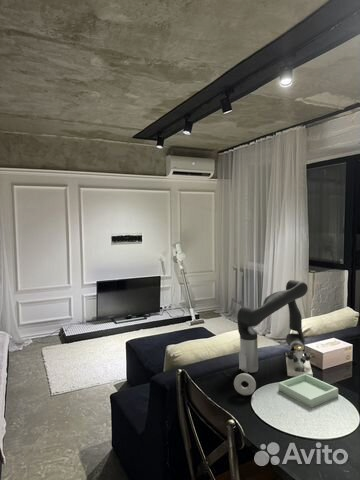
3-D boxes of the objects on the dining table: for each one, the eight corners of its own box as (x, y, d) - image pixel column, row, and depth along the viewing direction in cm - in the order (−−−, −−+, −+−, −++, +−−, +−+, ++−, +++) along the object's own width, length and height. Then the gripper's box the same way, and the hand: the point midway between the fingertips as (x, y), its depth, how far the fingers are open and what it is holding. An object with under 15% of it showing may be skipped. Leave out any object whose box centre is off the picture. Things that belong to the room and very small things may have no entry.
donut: (233, 395, 149) (233, 374, 148) (234, 392, 152) (233, 371, 152) (256, 397, 146) (255, 375, 146) (256, 394, 150) (255, 372, 150)
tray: (310, 407, 137) (310, 399, 137) (278, 390, 153) (278, 382, 153) (338, 396, 146) (338, 388, 145) (305, 380, 161) (305, 373, 161)
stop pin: (299, 376, 166) (299, 349, 166) (292, 372, 170) (292, 346, 170) (306, 374, 168) (305, 347, 168) (299, 370, 173) (298, 345, 172)
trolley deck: (312, 377, 164) (312, 374, 164) (287, 375, 167) (287, 371, 167) (308, 360, 185) (308, 357, 185) (286, 359, 188) (285, 355, 188)
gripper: (283, 341, 185) (284, 353, 168) (310, 343, 181) (314, 355, 164) (284, 355, 185) (285, 367, 168) (310, 356, 181) (314, 369, 165)
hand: (299, 361), depth 166 cm, fingers closed on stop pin, 3 cm apart
